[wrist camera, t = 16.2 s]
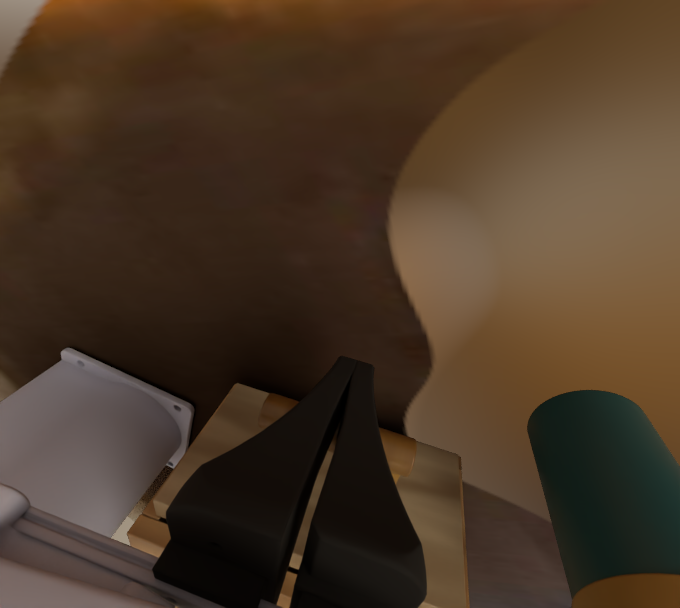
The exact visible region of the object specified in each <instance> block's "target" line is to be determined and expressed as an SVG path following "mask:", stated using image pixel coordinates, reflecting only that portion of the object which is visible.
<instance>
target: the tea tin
mask: <svg viewBox="0 0 680 608" xmlns="http://www.w3.org/2000/svg"><path fill="white" fill-rule="evenodd" d="M527 430H528V434H529V438H530V442H531V446H532V450H533V454H534V457H535V461H536V464H537V469H538V472H539V476H540V480H541V484H542V487H543V491H544V495H545V499H546V502H547V506H548V510H549V514H550V517H551V521H552V525H553V529H554V532H555V536H556V540H557V544H558V547H559V551H560V555H561V559H562V562H563V566H564V570H565V574H566V577H567V581H568V585H569V589H570V592H571V596H572V600H573V601H572V608H680V466H679V465H678V463H677V462H676V460H675V459H674V457H673V456H672V454H671V453H670V451H669V450H668V448H667V447H666V445H665V443H664V442H663V440H662V439H661V437H660V436H659V434H658V433H657V431H656V430H655V428H654V427H653V425H652V424H651V422H650V421H649V419H648V418H647V416H646V415H645V413H644V412H643V411H642V409H641V408H640V407H639V406H638V405H637V404H635V403H634V402H632V401H631V400H629V399H627V398H625V397H623V396H620V395H618V394H615V393H610V392H605V391H598V390H580V391H573V392H568V393H564V394H561V395H558V396H555V397H553V398H551V399H549V400H547V401H545V402H544V403H542V404H541V405H540V406H538V407H537V408H536V409H535V411H534V412H533V413H532V415H531V416H530V418H529V421H528V426H527Z"/></svg>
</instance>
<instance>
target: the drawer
mask: <svg viewBox="0 0 680 608" xmlns="http://www.w3.org/2000/svg"><path fill="white" fill-rule="evenodd" d="M298 403H299V401H296V400H293V399H290V398H287V397H284V396H281V395H278V394H275V393H267V392H264V391H260V390H257V389H254V388H251V387H248V386H245V385H242V384H239V383H237V384H236V385H235V387H234V388H233V390H232V391H231V392H230V394H229V395H228V397H227V398H226V399H225V401H224V402H223V403H222V405H221V406H220V408H219V409H218V410H217V412H216V413H215V415H214V416H213V417H212V419H211V420H210V422H209V423H208V424H207V426H206V427H205V428H204V430H203V431H202V433H201V434H200V435H199V437H198V438H197V440H196V441H195V442H194V444H193V445H192V447H191V448H190V449H189V451H188V452H187V453H186V455H185V456H184V458H183V459H182V460H181V462H180V463H179V465H178V466H177V467H176V469H175V470H174V472H173V473H172V474H171V476H170V477H169V479H168V480H167V481H166V483H165V484H164V485H163V487H162V488H161V490H160V491H159V492H158V494H157V495H156V497H155V498H154V499H153V504H154V508H155V512H156V515H157V516H160V517H162V518H165V519H166V510H167V509H168V507H169V506H170V504H171V503H172V501H173V499H174V498H175V496H176V495H177V493H178V492H179V490H180V489H181V487H182V486H183V485H184V484H185V482H186V481H187V480H188V479H189V478H190V477H191V475H192V474H193V473H194V472H195V471H196V470H197V469H198V468H199V467H200V466H201V465H202V464H204V463H206V462H208V461H210V460H212V459H214V458H216V457H218V456H220V455H222V454H224V453H226V452H228V451H229V450H231V449H233V448H235V447H237V446H238V445H240V444H242V443H243V442H245V441H247V440H248V439H250V438H252V437H253V436H255V435H257V434H258V433H260V432H261V431H263V430H264V429H265V428H267V427H268V426H270V425H271V424H272V423H274V422H275V421H277V420H278V419H279V418H281V417H282V416H283V415H284V414H286V413H287V412H288V411H289V410H291V409H292V408H293V407H294V406H295V405H296V404H298ZM340 421H341V419H340ZM340 421H339V423H338V426H337V428H336V431H335V434H334V436H333V439H332V442H331V444H330V447H329V449H328V451H327V454H326V456H325V458H324V461H323V463H322V466H321V468H320V470H319V473H318V476H317V478H316V481H315V484H314V487H313V490H312V494H311V497H310V500H309V503H308V506H307V509H306V512H305V516H304V519H303V522H302V525H301V528H300V531H299V535H298V538H297V541H296V544H295V547H294V551H293V554H292V557H291V560H290V563H289V567H288V570H287V571H290V572H292V573H295V574H298V571H299V567H300V564H301V561H302V557H303V553H304V549H305V545H306V541H307V536H308V532H309V528H310V524H311V520H312V517H313V514H314V511H315V508H316V505H317V502H318V499H319V496H320V493H321V490H322V487H323V484H324V481H325V478H326V474H327V471H328V468H329V465H330V462H331V459H332V456H333V453H334V450H335V445H336V440H337V436H338V431H339V426H340ZM379 431H380V435H381V439H382V444H383V447H384V451H385V455H386V458H387V461H388V464H389V468H390V471H391V474H392V476H393V479H394V482H395V484H396V487H397V490H398V492H399V495H400V498H401V500H402V502H403V505H404V507H405V509H406V512H407V514H408V516H409V518H410V520H411V523H412V525H413V527H414V529H415V531H416V533H417V535H418V537H419V539H420V541H421V543H422V548H423V554H424V560H425V567H426V577H427V595H426V598H425V600H424V601H423V602H422V604H421V605H420V606H419V607H418V608H466V593H465V574H464V555H463V536H462V517H461V498H460V479H459V460H458V455H457V454H455V453H452V452H449V451H445V450H442V449H439V448H436V447H433V446H430V445H427V444H424V443H421V442H418V441H416V440H415V439H414V438H410V437H407V436H404V435H401V434H398V433H395V432H392V431H389V430H386V429H383V428H380V427H379Z"/></svg>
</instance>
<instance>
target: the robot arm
mask: <svg viewBox="0 0 680 608" xmlns="http://www.w3.org/2000/svg"><path fill="white" fill-rule="evenodd" d="M61 358H62V360H61V361H60V362H58V363H57V364H55V365H54V366H52V367H51V368H49V369H48V370H46V371H45V372H43V373H42V374H40V375H39V376H38V377H36V378H35V379H33V380H32V381H30V382H29V383H27V384H26V385H24V386H23V387H21V388H20V389H19V390H17V391H16V392H14V393H13V394H11V395H10V396H8V397H7V398H5V399H4V400H2V401H1V402H0V608H175V606H177V607H179V608H282V607H280V606H277V602H278V599H279V596H280V592H281V589H282V586H283V583H284V580H285V576H286V573H287V570H288V567H289V563H290V560H291V557H292V554H293V551H294V547H295V544H296V541H297V538H298V535H299V531H300V528H301V525H302V522H303V519H304V516H305V512H306V509H307V506H308V503H309V500H310V497H311V494H312V490H313V487H314V484H315V481H316V478H317V476H318V473H319V470H320V468H321V466H322V463H323V461H324V458H325V456H326V454H327V451H328V449H329V447H330V444H331V442H332V439H333V436H334V434H335V431H336V428H337V426H338V423H339V421H340V419H341V421H340V426H339V431H338V436H337V440H336V445H335V450H334V453H333V456H332V459H331V462H330V465H329V468H328V471H327V474H326V478H325V481H324V484H323V487H322V490H321V493H320V496H319V499H318V502H317V505H316V508H315V511H314V514H313V517H312V520H311V524H310V528H309V532H308V536H307V541H306V545H305V549H304V553H303V557H302V561H301V564H300V567H299V571H298V574H297V577H296V581H295V584H294V589H293V594H292V598H291V602H290V607H289V608H418V607H419V606H420V605H421V604H422V602H423V601H424V600H425V598H426V595H427V577H426V567H425V560H424V554H423V548H422V543H421V541H420V539H419V537H418V535H417V533H416V531H415V529H414V527H413V525H412V523H411V520H410V518H409V516H408V514H407V512H406V509H405V507H404V505H403V502H402V500H401V498H400V495H399V492H398V490H397V487H396V484H395V482H394V479H393V476H392V474H391V471H390V468H389V464H388V461H387V458H386V455H385V451H384V447H383V444H382V439H381V435H380V431H379V426H378V420H377V415H376V407H375V400H374V386H373V376H374V367H373V365H371V364H368V363H364V362H361V361H358V360H354V359H351V358H348V357H344V356H340V357H338V359H337V361H336V362H335V364H334V365H333V366H332V368H331V369H330V370H329V372H328V373H327V374H326V375H325V376H324V377H323V379H322V380H321V381H320V382H319V383H318V384H317V385H316V386H315V387H314V388H313V389H312V390H311V391H310V392H309V393H308V394H307V395H306V396H305V397H304V398H303V399H302V400H301V401H300V402H299V403H298V404H296V405H295V406H294V407H293V408H292V409H291V410H289V411H288V412H287V413H286V414H284V415H283V416H282V417H281V418H279V419H278V420H277V421H275V422H274V423H272V424H271V425H270V426H268V427H267V428H265V429H264V430H263V431H261V432H260V433H258V434H257V435H255V436H253V437H252V438H250V439H248V440H247V441H245V442H243V443H242V444H240V445H238V446H237V447H235V448H233V449H231V450H229V451H228V452H226V453H224V454H222V455H220V456H218V457H216V458H214V459H212V460H210V461H208V462H206V463H204V464H202V465H201V466H200V467H199V468H198V469H197V470H196V471H195V472H194V473H193V474H192V475H191V477H190V478H189V479H188V480H187V481H186V482H185V484H184V485H183V486H182V487H181V489H180V490H179V492H178V493H177V495H176V496H175V498H174V499H173V501H172V503H171V504H170V506H169V507H168V509H167V510H166V521H167V525H168V529H169V533H170V537H171V539H170V540H169V542H168V544H167V545H166V547H165V549H164V550H163V552H162V554H161V555H160V557H156V556H154V555H151V554H149V553H146V552H144V551H141V550H139V549H136V548H134V547H131V546H129V545H126V544H124V543H121V542H119V541H116V540H114V539H111V537H112V536H113V534H114V533H115V532H116V530H117V529H118V528H119V526H120V525H121V524H122V522H123V521H124V520H125V519H126V517H127V516H128V515H129V513H130V512H131V511H132V509H133V508H134V507H135V505H136V504H137V503H138V501H139V500H140V499H141V497H142V496H143V495H144V493H145V492H146V491H147V489H148V488H149V487H150V485H151V484H152V483H153V481H154V480H155V479H156V477H157V476H158V475H159V473H160V472H161V471H162V469H163V468H164V467H165V465H167V466H169V467H171V468H173V469H174V468H175V466H176V465H177V464H178V462H179V461H180V459H181V458H182V457H183V455H184V454H185V453H186V451H187V450H188V445H189V439H190V434H191V428H192V422H193V416H194V407H193V406H192V405H191V404H190V403H188V402H186V401H184V400H182V399H180V398H177V397H175V396H173V395H171V394H169V393H167V392H165V391H162V390H160V389H158V388H156V387H154V386H152V385H149V384H147V383H145V382H143V381H141V380H139V379H136V378H134V377H132V376H130V375H128V374H126V373H124V372H121V371H119V370H117V369H115V368H113V367H111V366H108V365H106V364H104V363H102V362H100V361H98V360H95V359H93V358H91V357H89V356H87V355H85V354H83V353H80V352H78V351H76V350H74V349H72V348H65V349H64V350H62V351H61Z"/></svg>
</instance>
